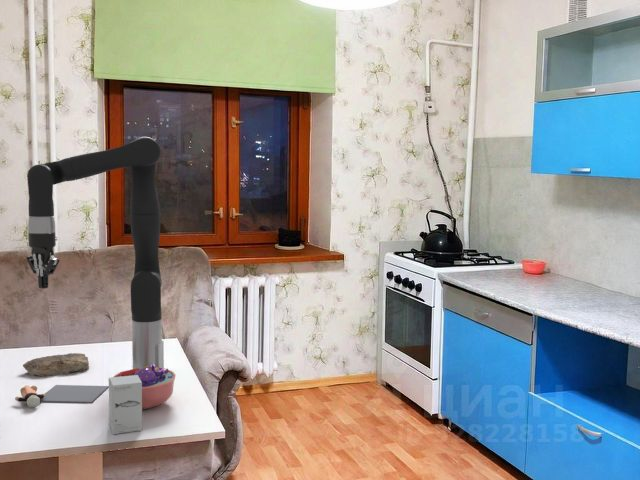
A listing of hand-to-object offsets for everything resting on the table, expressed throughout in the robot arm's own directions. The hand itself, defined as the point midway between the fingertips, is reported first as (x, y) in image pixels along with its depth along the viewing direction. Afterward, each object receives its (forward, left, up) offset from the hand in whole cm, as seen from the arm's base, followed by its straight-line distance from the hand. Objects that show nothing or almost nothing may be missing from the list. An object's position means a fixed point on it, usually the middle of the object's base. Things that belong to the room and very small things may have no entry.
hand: (43, 288), depth 203 cm
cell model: (-36, +19, -29) cm, 50 cm away
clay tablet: (+2, -12, -30) cm, 32 cm away
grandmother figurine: (0, +14, -28) cm, 31 cm away
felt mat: (-13, +12, -29) cm, 34 cm away
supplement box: (-36, +36, -29) cm, 59 cm away
